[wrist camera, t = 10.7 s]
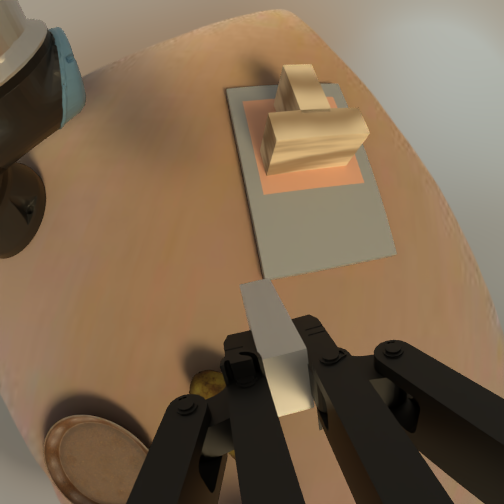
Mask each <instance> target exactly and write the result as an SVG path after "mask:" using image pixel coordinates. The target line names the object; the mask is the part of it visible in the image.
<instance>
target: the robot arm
mask: <svg viewBox="0 0 504 504" xmlns="http://www.w3.org/2000/svg"><path fill="white" fill-rule="evenodd" d="M85 102H86V94H85V89H84V84H83V81H82V77H81V74H80V71H79V68H78V65H77V62H76V60H75V59H74V55H73V53H72V49H71V46H70V44H69V41H68V39H67V37H66V35H65V33H64V31H63V30H62V29H61V28H59V27H56V28H51V29H49V30H48V28H47V26H46V24H45V23H44V22H43V21H41V20H34V19H26V17H25V15H24V13H23V11H22V9H21V7H20V5H19V3H18V0H0V258H9V257H12V256H14V255H16V254H18V253H19V252H21V251H22V250H23V249H24V248H25V247H26V246H27V245H28V244H29V243H30V241H31V240H32V239H33V237H34V236H35V234H36V232H37V230H38V228H39V226H40V224H41V221H42V218H43V215H44V210H45V202H46V196H45V189H44V185H43V182H42V180H41V179H40V177H39V176H38V175H37V174H36V173H35V172H34V171H33V170H32V169H31V168H30V167H28V166H26V165H24V164H21V163H17V162H16V161H17V160H19V159H20V158H21V157H22V156H24V155H25V154H26V153H27V152H29V151H30V150H31V149H32V148H34V147H35V146H36V145H38V144H39V143H40V142H42V141H43V140H44V139H46V138H47V137H48V136H50V135H51V134H53V133H54V132H55V131H57V130H58V129H61V128H62V127H63V126H64V125H65V123H67V122H68V121H69V120H70V119H72V118H73V117H74V116H76V115H77V114H79V113H80V111H81V110H82V108H83V107H84V105H85ZM240 290H241V294H242V298H243V303H244V307H245V311H246V316H247V320H248V324H249V329H250V330H249V331H245V332H241V333H236V334H232V335H228V336H227V338H226V340H225V341H224V350H225V357H224V358H223V359H222V361H221V363H220V368H221V371H222V374H223V378H224V381H225V384H226V387H225V388H224V389H223V390H222V391H221V392H220V393H218V394H217V395H215V396H213V397H210V398H208V399H206V400H205V398H204V397H202V396H200V395H197V394H187V395H183V396H180V397H178V398H176V399H175V400H173V401H172V402H171V403H170V405H169V406H168V407H167V410H166V412H165V414H164V417H163V419H162V421H161V423H160V426H159V428H158V430H157V433H156V435H155V437H154V439H153V442H152V444H151V446H150V449H149V451H148V453H147V456H146V458H145V460H144V463H143V465H142V467H141V470H140V472H139V474H138V477H137V479H136V481H135V484H134V486H133V488H132V491H131V493H130V495H129V498H128V500H127V502H126V504H218V500H219V495H220V490H221V485H222V481H223V476H224V471H225V466H226V461H227V457H228V456H227V453H228V452H230V451H233V450H234V452H235V459H236V466H237V473H238V480H239V486H240V493H241V499H242V504H305V501H304V498H303V495H302V492H301V489H300V486H299V482H298V479H297V476H296V473H295V470H294V466H293V463H292V460H291V457H290V454H289V450H288V447H287V444H286V441H285V437H284V434H283V431H282V428H281V424H280V421H279V418H278V417H280V416H284V415H288V414H292V413H295V412H299V411H303V410H306V409H310V408H313V407H314V402H313V399H314V401H315V404H316V406H317V413H318V422H319V430H322V427H323V429H324V432H325V434H326V436H327V438H328V441H329V443H330V445H331V448H332V450H333V452H334V454H335V457H336V459H337V461H338V463H339V466H340V468H341V470H342V473H343V475H344V477H345V479H346V482H347V484H348V486H349V488H350V491H351V493H352V495H353V497H354V500H355V502H356V504H454V503H453V501H452V500H451V498H450V497H449V495H448V494H447V492H446V491H445V489H444V488H443V486H442V485H441V483H440V482H439V480H438V479H437V478H436V476H435V475H434V473H433V472H432V470H431V469H430V467H429V466H428V464H427V463H426V461H425V460H424V458H423V457H422V456H421V454H420V453H419V451H420V452H421V453H422V454H423V455H424V456H426V457H427V458H428V459H429V460H431V461H432V462H433V463H434V464H435V465H437V466H438V467H439V468H440V469H442V470H443V471H444V472H445V473H447V474H448V475H449V476H450V477H451V478H453V479H454V480H455V481H456V482H458V483H459V484H460V485H462V486H463V487H464V488H465V489H467V490H468V491H469V492H470V493H472V494H473V495H474V496H476V497H477V498H478V499H479V500H481V501H482V502H483V503H485V504H504V399H503V398H501V397H499V396H498V395H496V394H494V393H493V392H491V391H489V390H487V389H486V388H484V387H482V386H481V385H479V384H477V383H475V382H474V381H472V380H470V379H468V378H467V377H465V376H463V375H462V374H460V373H458V372H456V371H455V370H453V369H451V368H449V367H448V366H446V365H444V364H443V363H441V362H439V361H437V360H436V359H434V358H432V357H430V356H429V355H427V354H425V353H424V352H422V351H420V350H418V349H417V348H415V347H413V346H412V345H410V344H408V343H406V342H403V341H400V340H389V341H385V342H383V343H380V344H379V345H378V346H377V347H376V348H375V350H374V355H368V356H351V354H350V353H349V352H348V351H347V350H345V349H342V348H339V347H337V346H336V344H335V343H334V341H333V340H332V338H331V337H330V335H329V334H328V333H327V331H326V330H325V328H324V327H323V326H322V324H321V322H320V321H319V320H318V319H317V318H315V317H313V316H311V315H306V316H302V317H298V318H294V319H291V318H290V316H289V314H288V312H287V310H286V309H285V307H284V305H283V303H282V301H281V299H280V297H279V295H278V294H277V292H276V290H275V288H274V286H273V284H272V282H271V281H270V279H269V278H267V279H262V280H258V281H254V282H249V283H245V284H241V285H240Z"/></svg>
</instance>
